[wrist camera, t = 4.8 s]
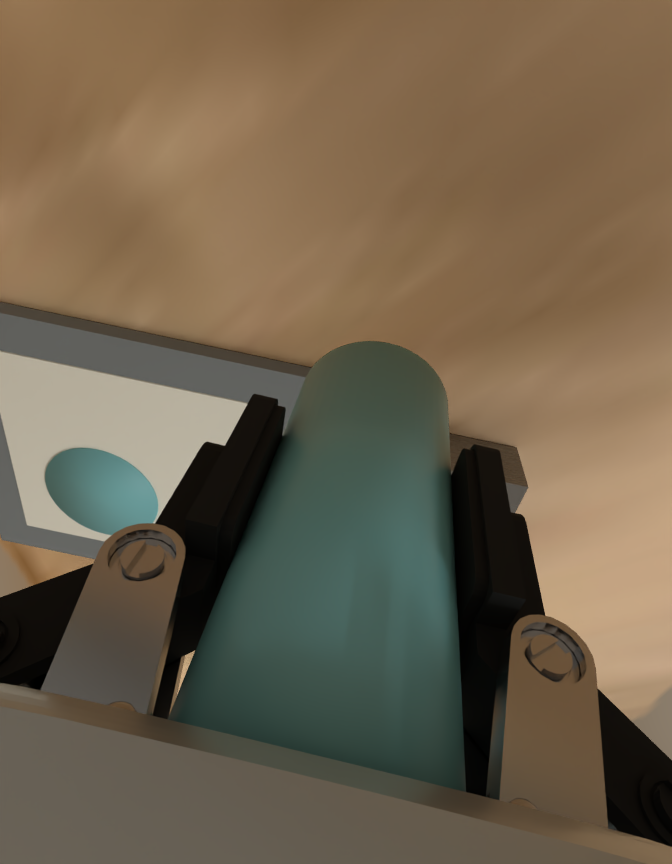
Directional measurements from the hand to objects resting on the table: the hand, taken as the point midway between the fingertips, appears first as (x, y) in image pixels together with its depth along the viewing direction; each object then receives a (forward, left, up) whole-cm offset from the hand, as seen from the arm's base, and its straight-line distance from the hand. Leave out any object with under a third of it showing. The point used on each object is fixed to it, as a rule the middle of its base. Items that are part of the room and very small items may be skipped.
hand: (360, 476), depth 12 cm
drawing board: (+10, +12, -12) cm, 20 cm away
